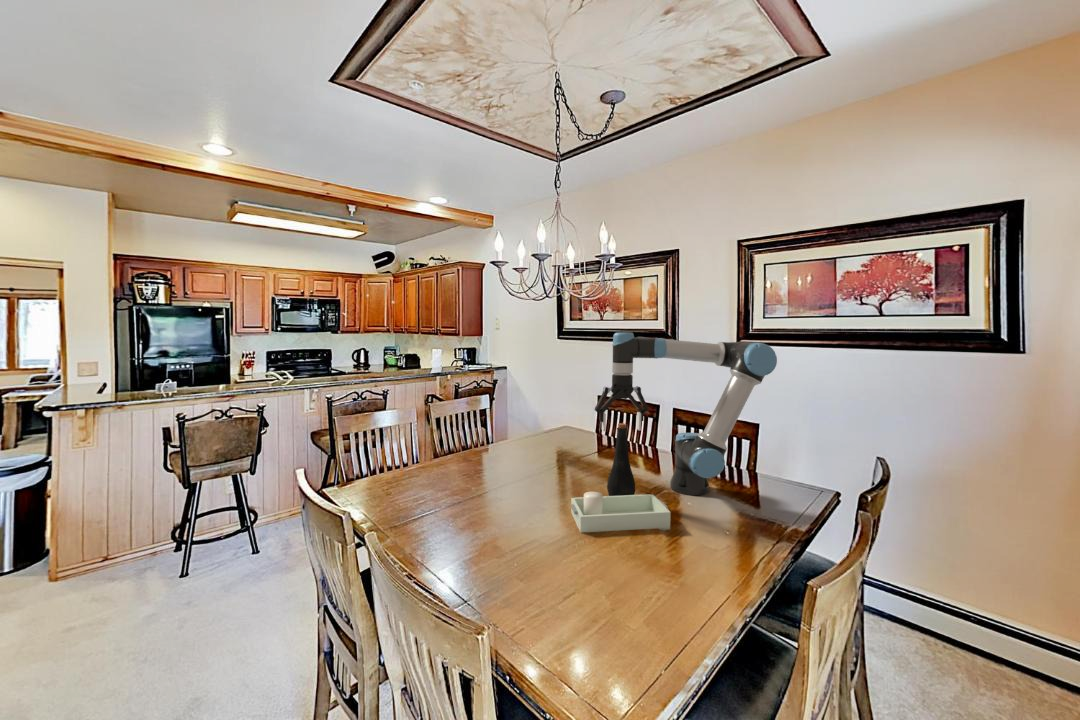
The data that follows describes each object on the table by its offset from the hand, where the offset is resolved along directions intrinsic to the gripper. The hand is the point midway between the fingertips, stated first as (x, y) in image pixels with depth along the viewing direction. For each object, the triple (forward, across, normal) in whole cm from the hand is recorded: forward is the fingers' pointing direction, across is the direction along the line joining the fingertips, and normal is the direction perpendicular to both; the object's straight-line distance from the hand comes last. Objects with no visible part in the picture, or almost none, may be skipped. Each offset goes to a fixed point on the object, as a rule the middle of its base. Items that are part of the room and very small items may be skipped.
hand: (621, 430), depth 171 cm
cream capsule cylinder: (+27, +14, +17) cm, 35 cm away
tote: (+28, +6, +17) cm, 33 cm away
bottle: (+28, 0, 0) cm, 28 cm away
